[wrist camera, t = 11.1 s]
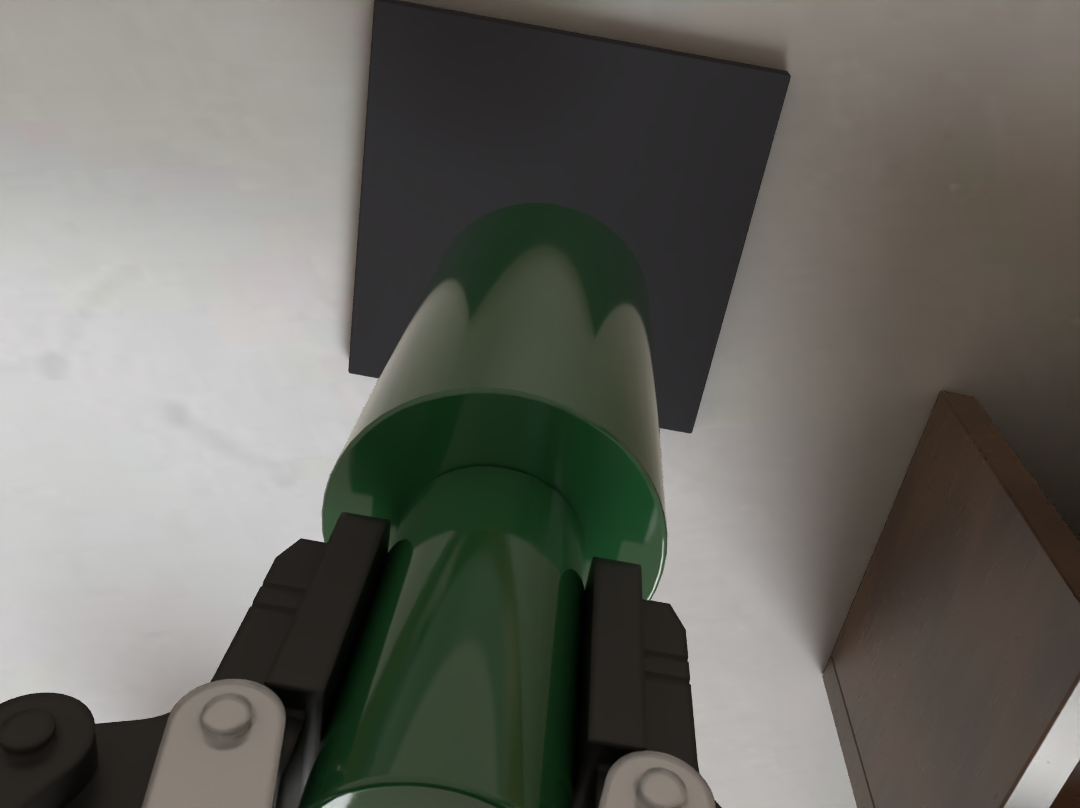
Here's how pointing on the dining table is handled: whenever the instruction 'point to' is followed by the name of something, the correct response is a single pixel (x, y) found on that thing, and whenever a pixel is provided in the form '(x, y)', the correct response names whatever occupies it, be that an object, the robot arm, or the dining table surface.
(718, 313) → the mat
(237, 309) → the dining table surface
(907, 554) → the shelf
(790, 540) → the dining table surface
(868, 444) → the dining table surface
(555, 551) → the bottle
